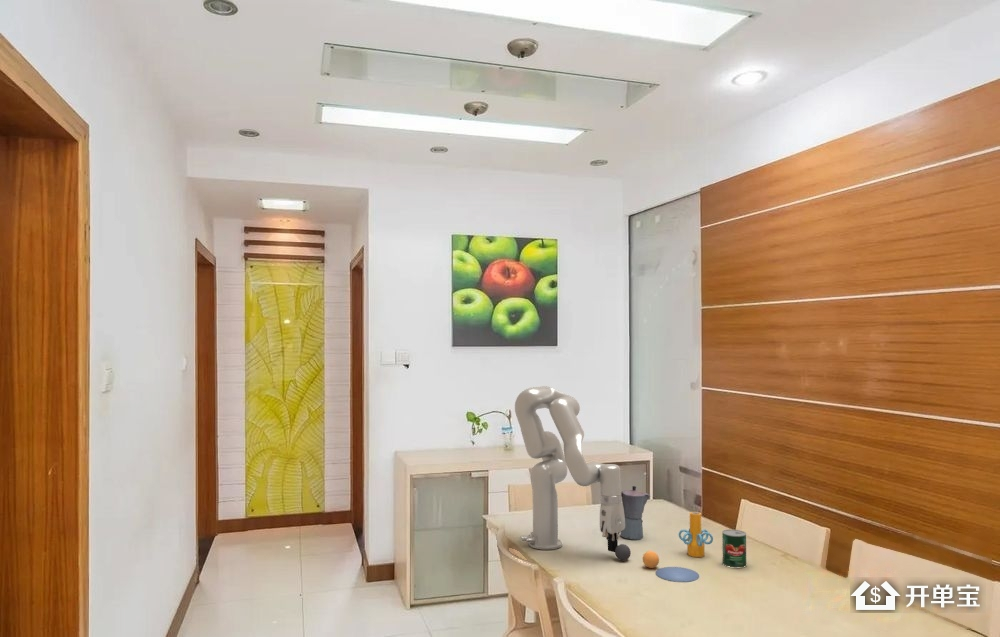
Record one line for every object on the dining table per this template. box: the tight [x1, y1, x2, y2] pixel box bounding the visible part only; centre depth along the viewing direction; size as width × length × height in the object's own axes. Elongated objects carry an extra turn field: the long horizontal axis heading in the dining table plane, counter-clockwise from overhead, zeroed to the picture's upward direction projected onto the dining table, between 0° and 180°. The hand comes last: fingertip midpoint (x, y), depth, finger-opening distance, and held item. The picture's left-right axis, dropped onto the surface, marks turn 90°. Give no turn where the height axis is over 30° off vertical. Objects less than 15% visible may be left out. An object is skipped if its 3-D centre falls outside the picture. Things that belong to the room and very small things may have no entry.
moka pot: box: [619, 485, 651, 540], centre depth 267 cm, size 10×15×20 cm, turn 89°
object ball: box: [642, 550, 660, 569], centre depth 231 cm, size 6×6×6 cm
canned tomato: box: [721, 529, 747, 568], centre depth 234 cm, size 8×8×11 cm
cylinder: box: [678, 511, 714, 558], centre depth 245 cm, size 12×10×15 cm
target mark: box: [655, 566, 700, 583], centre depth 224 cm, size 14×14×1 cm
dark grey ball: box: [614, 543, 632, 562], centre depth 239 cm, size 6×6×6 cm
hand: (612, 550), depth 242 cm, fingers closed
